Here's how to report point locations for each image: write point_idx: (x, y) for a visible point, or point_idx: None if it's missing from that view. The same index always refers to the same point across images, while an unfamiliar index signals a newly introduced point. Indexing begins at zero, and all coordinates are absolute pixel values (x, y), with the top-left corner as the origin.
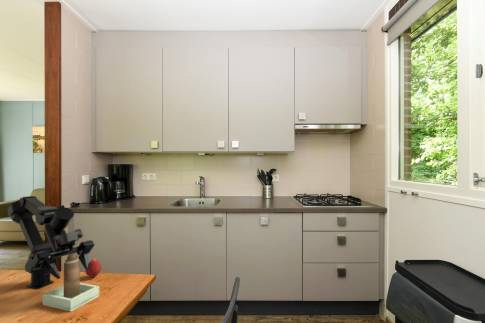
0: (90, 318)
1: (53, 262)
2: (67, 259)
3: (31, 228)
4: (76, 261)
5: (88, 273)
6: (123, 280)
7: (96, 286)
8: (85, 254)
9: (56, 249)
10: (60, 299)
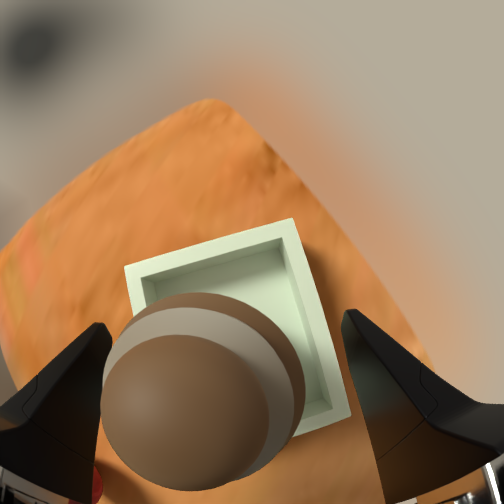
0: (259, 135)
1: (439, 424)
2: (268, 413)
3: None
4: (163, 313)
5: (95, 475)
6: (31, 326)
7: (132, 275)
8: (19, 413)
9: None
10: (315, 290)
